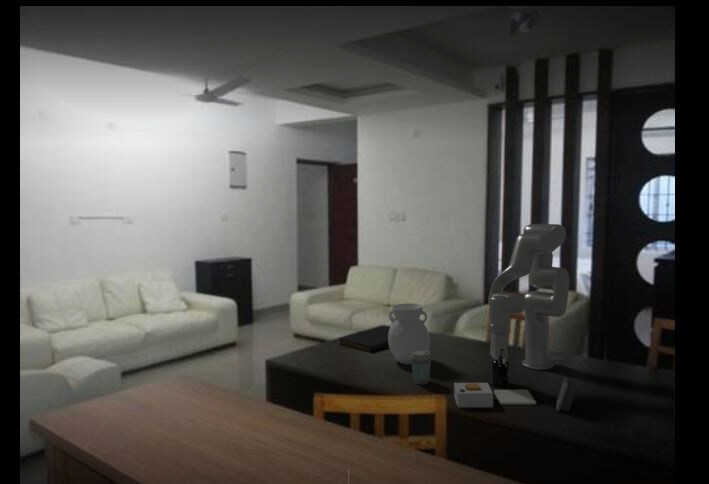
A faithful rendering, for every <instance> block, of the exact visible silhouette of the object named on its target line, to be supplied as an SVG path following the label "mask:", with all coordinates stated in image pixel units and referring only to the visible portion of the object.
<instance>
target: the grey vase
mask: <svg viewBox="0 0 709 484" xmlns="http://www.w3.org/2000/svg"><path fill="white" fill-rule="evenodd" d="M423 308H424V307H423V306H422V305H420V304H419V303H401V304H395V305H393V306H392V310H391V311H390V312H389V314H388V318H389V320H390V322H391V324H390V326H389V327H390V329H389V333H388V343H389V347H388V348H389V350H390V353H391V354H392V355H393V357H394V359H396V360H397V361H398V362H399V363H400V364H403V365H412V363H411V358H410V355H411V352H412V351H414V350H427V351H430V348H431V347H430V346H431V345H430V344H431V339H430V333H429V330H428V327H427V326H426V324H425V323H426V321H427V320H428V314H427V312H426V311H424V310H423ZM422 315H423V316H424V319H422V320H421V319H420V316H422Z"/></svg>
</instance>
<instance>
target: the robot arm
mask: <svg viewBox="0 0 709 484" xmlns="http://www.w3.org/2000/svg"><path fill="white" fill-rule="evenodd" d="M566 231H567V230H566V228H565V226H564V225H561V224H559V223H555V224H554V223H531V224H528V225H526V226H524V228H523V233H521V234H519V235H518V236H516V239H515V241H514V246H513V248H512V253H511V257H510V260H509V263H508V265H507V267H506V268H505V269H504V270H503V271H502V272H500V273H499V274H498V275H497V276H496V278H495V279H494V280H493V281H492V284H491V286H490V290H489V294H488V298H487V303H488V307H489V308H488V310H489V311H488V312H489V313H488V318H489V321H488V323H489V325H488V329H489V330H488V331H489V334H490V348H489V350H490V351H489V353H490V356H491V357H492V360H496V359H498V364H499V366H498V377H507V364H506V360H507V361H508V358H509V356H508V355H509V352H508V348H509V347H508V335H509V334H510V333H511V330H510V329H511V328H510V327H511V325H510V324H511V317H510V316H511V315H513V314H520V313H523V312H524V320H525V321H524V323H525V327H524V328H525V330H524V332H525V333H524V335H525V337H524V338H525V339H524V340H525V358H524V359H522V361H521V364H522V366H523V367H525V368H527V369H531V370H538V371H539V370H541V371H542V370H549V369H552V368H553V367H554V362H562V357H561V356H556V355H551V354H550V323H549V320H548V319H547V317H554V318H559V317H563V316H564V315H565V314H566V311H567V307H568V300H569V299H568V298H569V291H570V275H569V272H568V270H567V269H565V268H564V267H559V266H553V263H554V261H553V259H554V254H553V252H554V251H556V250H557V249H558V248H559V247H560V246H562V245H563V243H564V242H565V240H566V237H567V232H566ZM528 275H529V279H528V280H529V284H530V286H531V287H533V288H535V289H543V290H550V291H551V290H552V291H553V292H546V291H536V290H532V291H528V292H526V293H525V294H524V295H521V294H517V293H510V292H503V291H504V289H505V287H507V285H508V284H509V283H511V282H514V281H515V280H517V279H520V278H524V277H526V276H528ZM500 361H501V363H500Z"/></svg>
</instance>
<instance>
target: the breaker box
mask: <svg viewBox="0 0 709 484" xmlns="http://www.w3.org/2000/svg"><path fill="white" fill-rule="evenodd" d="M466 383H467V382H454V383H453V395H454V396H453V397H454V399H455V403H456V406H458V407H457V408H494V391H492V388H491V387H490V384H489V383H488V382H477V383H478V385H479V387H480V390H475V391H467V390H466Z"/></svg>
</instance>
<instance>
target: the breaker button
mask: <svg viewBox="0 0 709 484" xmlns="http://www.w3.org/2000/svg"><path fill="white" fill-rule="evenodd" d="M465 383H466V390H467V391H475V390H480V387H479V385H478V383H479V382H465Z"/></svg>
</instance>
